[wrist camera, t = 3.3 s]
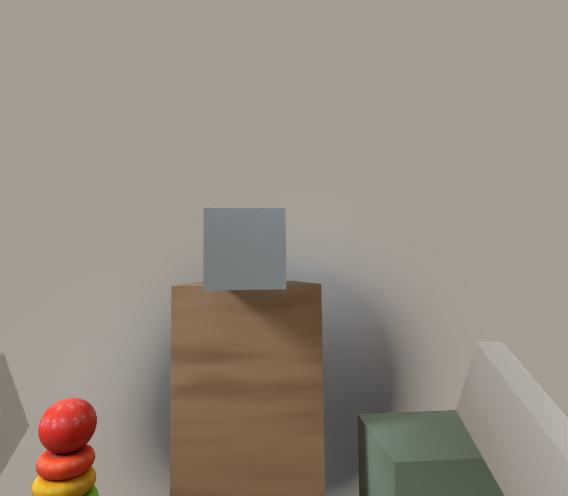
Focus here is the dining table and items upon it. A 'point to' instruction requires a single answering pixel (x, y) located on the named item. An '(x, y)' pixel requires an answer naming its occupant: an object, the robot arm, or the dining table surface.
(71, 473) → the stacking toy
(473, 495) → the post
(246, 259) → the rod
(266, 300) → the stand
